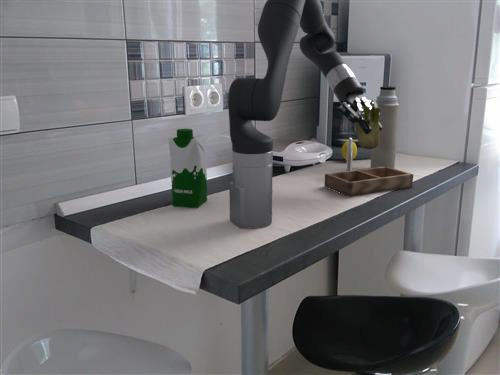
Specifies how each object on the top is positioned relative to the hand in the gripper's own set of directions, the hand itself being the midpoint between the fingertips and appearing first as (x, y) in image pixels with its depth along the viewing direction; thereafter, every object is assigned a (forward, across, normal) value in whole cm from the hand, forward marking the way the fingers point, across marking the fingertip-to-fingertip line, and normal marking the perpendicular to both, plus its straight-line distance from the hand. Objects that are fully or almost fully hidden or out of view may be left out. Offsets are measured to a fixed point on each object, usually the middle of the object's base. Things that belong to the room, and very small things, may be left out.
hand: (374, 131), depth 138 cm
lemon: (-10, +26, +36) cm, 46 cm away
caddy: (+10, +4, +15) cm, 19 cm away
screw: (+2, +8, +24) cm, 25 cm away
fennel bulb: (+2, 0, +5) cm, 6 cm away
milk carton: (-3, -47, +28) cm, 55 cm away
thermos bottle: (+2, +25, +25) cm, 35 cm away
